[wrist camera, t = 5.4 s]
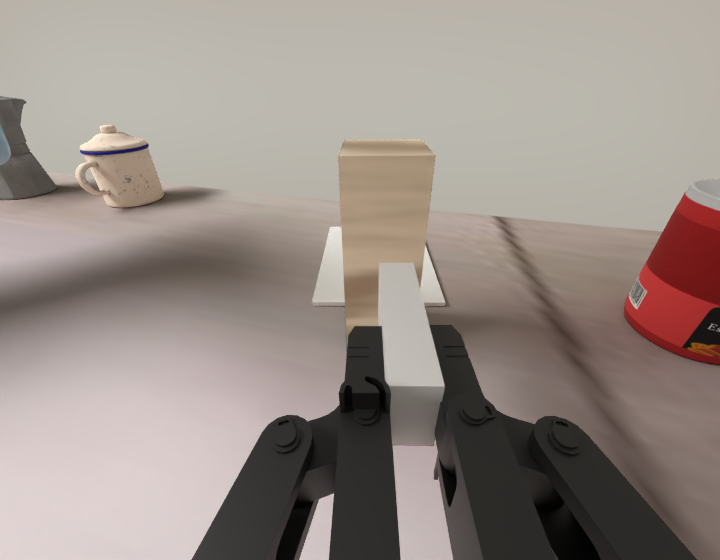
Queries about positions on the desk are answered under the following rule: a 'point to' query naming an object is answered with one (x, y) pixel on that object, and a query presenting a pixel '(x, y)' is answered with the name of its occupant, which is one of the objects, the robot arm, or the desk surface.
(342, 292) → the mat
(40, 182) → the coffeepot
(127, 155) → the teacup with lid
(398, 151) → the block
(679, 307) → the canned food
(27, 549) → the desk surface
